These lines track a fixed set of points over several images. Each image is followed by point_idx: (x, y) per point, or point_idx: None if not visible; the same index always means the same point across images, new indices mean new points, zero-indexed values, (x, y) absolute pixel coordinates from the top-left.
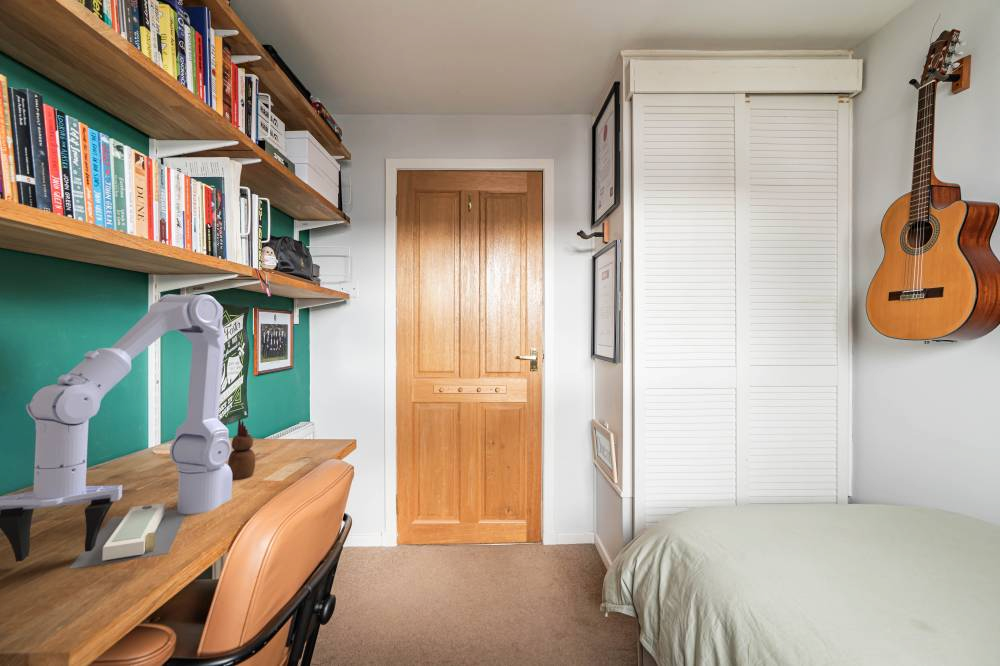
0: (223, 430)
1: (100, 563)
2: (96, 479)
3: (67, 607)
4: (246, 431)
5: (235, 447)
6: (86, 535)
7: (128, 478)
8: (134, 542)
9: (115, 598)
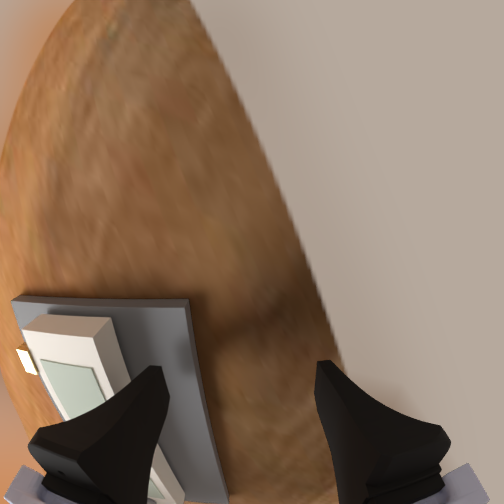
0: None
1: (113, 309)
2: None
3: (118, 101)
4: None
5: None
6: (136, 394)
7: None
8: (35, 332)
9: (44, 124)
